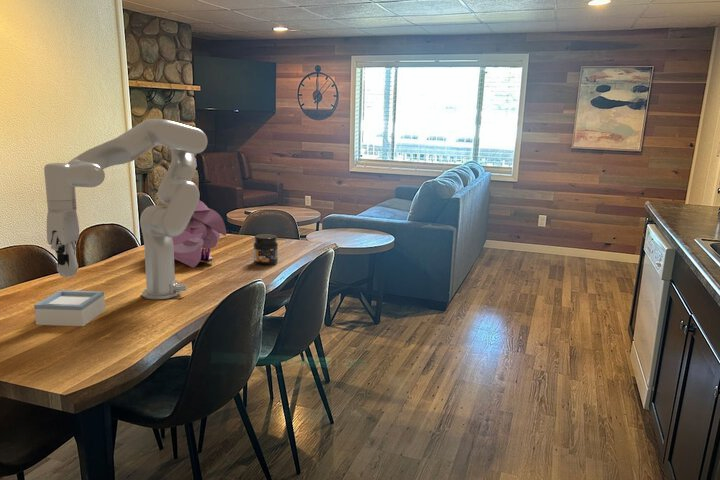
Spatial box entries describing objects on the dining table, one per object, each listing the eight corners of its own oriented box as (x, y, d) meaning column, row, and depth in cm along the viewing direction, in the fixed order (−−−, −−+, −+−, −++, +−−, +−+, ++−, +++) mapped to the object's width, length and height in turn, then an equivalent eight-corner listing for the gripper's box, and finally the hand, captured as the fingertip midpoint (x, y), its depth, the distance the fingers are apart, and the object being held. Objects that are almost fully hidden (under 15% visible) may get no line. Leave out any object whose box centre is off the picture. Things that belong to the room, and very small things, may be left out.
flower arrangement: (232, 268, 241) (242, 207, 240) (208, 272, 218) (219, 204, 217) (161, 254, 247) (171, 194, 246) (131, 257, 224) (141, 190, 222)
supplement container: (248, 264, 231) (248, 237, 228) (260, 258, 241) (260, 232, 238) (270, 267, 228) (270, 239, 225) (282, 261, 238) (282, 235, 235)
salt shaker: (63, 271, 166) (59, 230, 163) (82, 272, 166) (79, 231, 163) (53, 277, 160) (49, 234, 157) (73, 277, 160) (69, 235, 157)
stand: (105, 309, 173) (103, 291, 171) (83, 326, 159) (81, 306, 158) (61, 308, 173) (60, 290, 171) (36, 324, 159) (34, 305, 157)
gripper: (64, 200, 166) (69, 258, 170) (32, 209, 150) (39, 272, 154) (88, 201, 166) (92, 258, 170) (59, 210, 150) (65, 273, 154)
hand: (67, 264), depth 162 cm, fingers closed on salt shaker, 3 cm apart
